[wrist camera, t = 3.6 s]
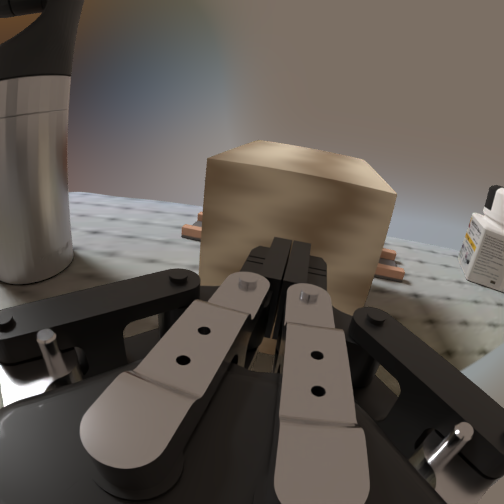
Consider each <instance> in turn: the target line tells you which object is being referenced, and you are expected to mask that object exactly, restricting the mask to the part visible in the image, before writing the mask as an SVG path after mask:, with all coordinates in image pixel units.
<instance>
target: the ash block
mask: <svg viewBox="0 0 504 504" xmlns="http://www.w3.org/2000/svg"><path fill="white" fill-rule="evenodd" d="M396 197H397V193H396V192H395V191H394V190H393V189H392V188H391V187H390V186H389V185H388V184H387V183H386V182H385V181H384V180H383V179H382V177H381V176H380V175H379V174H378V173H377V172H376V171H375V170H374V169H373V168H372V167H371V166H370V165H369V164H368V163H367V162H366V161H365V160H363V159H358V158H354V157H349V156H345V155H340V154H335V153H330V152H325V151H320V150H315V149H310V148H305V147H298V146H293V145H287V144H282V143H275V142H268V141H262V140H257V141H254V142H251V143H248V144H245V145H242V146H239V147H237V148H234V149H231V150H228V151H225V152H223V153H220V154H218V155H215V156H212V157H210V158H207V168H206V178H205V190H204V204H203V216H202V230H201V245H200V262H199V277H200V280H201V281H200V286H220V285H221V284H222V283H223V282H224V280H225V279H226V278H227V277H228V276H229V275H230V274H233V273H236V272H240V270H241V268H242V266H243V264H244V263H245V261H246V259H247V257H248V256H249V254H250V252H251V250H252V249H254V248H256V247H258V246H264V247H269V248H270V246H271V244H272V241H273V239H274V237H279V238H284V239H289V240H292V245H293V241H294V240H295V241H300V242H305V243H311V250H310V255H311V256H316V257H321V258H323V260H324V261H325V262H326V264H327V292H328V293H329V295H330V297H331V303H332V306H333V307H335V308H336V309H338V310H339V311H341V312H344V313H346V314H349V315H351V316H353V313H354V311H355V310H357V309H358V308H361V307H364V304H365V302H366V299H367V296H368V293H369V290H370V287H371V284H372V281H373V278H374V275H375V272H376V269H377V265H378V262H379V259H380V256H381V252H382V249H383V246H384V242H385V239H386V235H387V231H388V228H389V224H390V221H391V217H392V213H393V209H394V205H395V201H396ZM292 245H291V249H292ZM290 253H291V250H290ZM289 257H290V256H289ZM276 316H277V314H276ZM275 321H276V318H275ZM274 326H275V322H274ZM274 326H273V329H272V333H271V337H270V338H266V337H263V341H262V343H261V344H260V346H259V352H262V353H266V354H271V355H274V352H275V347H276V343H277V340H275V339H272V336H273V331H274Z"/></svg>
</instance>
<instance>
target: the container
mask: <svg viewBox="0 0 504 504" xmlns="http://www.w3.org/2000/svg"><path fill="white" fill-rule="evenodd" d="M483 212H484V213H485V215H484V216H483V215H481V214H477V213H473V214H472V217H471V220H470V223H469V226H468V230H467V233H466V236H465V239H464V242H463V245H462V248H461V250H460V253H459V256H458V260H459V263H460V265H461V267H462V270H463V272H464V275H465V277H466V279H467V280H469V281H472V282H475V283H478V284H481V285H483V286H486V287H489V288H492V289H495V290H498V291H501V292H504V187H501V186H498V185H494V186H491V187H490V188H489V192H488V196H487V200H486V203H485V207H484V210H483Z"/></svg>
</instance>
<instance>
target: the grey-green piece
mask: <svg viewBox="0 0 504 504" xmlns="http://www.w3.org/2000/svg"><path fill="white" fill-rule="evenodd" d="M202 216H203V212H200V213H198V220H197V222H195V223H194V224H193V225H187V224H185V225H184V226H183V227H182V237H184V238H189V239H194V240H199V241H201V230H202ZM395 257H396V252H395V251H394V250H389V249H385V248H383V249H382V252H381V256H380V259H379V262H378V265H377V269H376V272H375V275H374V277H379V278H384V279H389V280H393V281H398V282H402V280H403V277H404V274H405V272H404V269H403V268H398V267H397V266H396V263H395V261H394V260H395Z"/></svg>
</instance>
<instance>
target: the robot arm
mask: <svg viewBox="0 0 504 504" xmlns="http://www.w3.org/2000/svg"><path fill="white" fill-rule="evenodd" d="M83 3H84V0H0V18H8V17H14V16H20V15H26V14H33V13H40V12H42V14H41V15H40V16H39V17H38V18H37V19H36V20H35V21H34V22H33V23H32V24H31V25H29V26H28V27H27V28H25V29H24V30H23V31H21V32H20V33H19V34H17V35H16V36H14V37H13V38H11V39H9V40H8V41H6V42H4V43H2V44H1V45H0V280H1V281H3V282H6V283H10V284H28V283H33V282H38V281H41V280H44V279H47V278H49V277H52V276H54V275H56V274H58V273H59V272H61V271H63V270H64V269H65V268H66V267H67V266H68V265H69V264H70V263H71V261H72V259H73V245H72V236H71V225H70V211H69V195H68V168H67V137H68V133H67V132H68V108H69V94H70V82H71V77H70V76H71V72H72V62H73V54H74V46H75V40H76V34H77V28H78V23H79V19H80V14H81V10H82V6H83ZM291 245H292V240H289V239H284V238H279V237H274V239H273V241H272V244H271V246H270V248H269V247H264V246H258V247H256V248H254V249H252V250H251V252H250V254H249V256H248V257H247V259H246V261H245V263H244V264H243V266H242V268H241V270H240V272H236V273H233V274H230V275H229V276H228V277H227V278H226V279H225V280H224V282H223V283H222V284H221V285H220V286H200V281H201V280H200V277H199V276H198V275H197V274H196V273H195V272H193V271H190V270H186V269H169V270H165V271H160V272H156V273H152V274H148V275H144V276H139V277H135V278H131V279H127V280H123V281H118V282H114V283H110V284H106V285H102V286H97V287H93V288H89V289H85V290H81V291H77V292H72V293H68V294H64V295H60V296H56V297H52V298H47V299H43V300H39V301H35V302H31V303H27V304H23V305H18V306H14V307H10V308H6V309H2V310H0V378H1V386H2V393H3V399H4V405H5V406H4V407H2V408H1V409H0V504H477V502H478V501H479V500H480V499H481V497H482V496H483V495H484V494H485V492H486V491H487V490H488V489H489V488H490V487H491V486H492V485H493V484H495V483H496V482H497V481H498V480H499V479H500V478H501V477H503V476H504V408H502V407H501V406H500V405H499V404H498V403H497V402H495V401H494V400H493V399H492V398H491V397H490V396H488V395H487V394H486V393H485V392H484V391H483V390H481V389H480V388H479V387H478V386H477V385H475V384H474V383H473V382H472V381H471V380H469V379H468V378H467V377H466V376H465V375H463V374H462V373H461V372H460V371H459V370H457V369H456V368H455V367H454V366H453V365H451V364H450V363H449V362H448V361H447V360H445V359H444V358H443V357H442V356H440V355H439V354H438V353H437V352H436V351H434V350H433V349H432V348H431V347H429V346H428V345H427V344H426V343H424V342H423V341H422V340H421V339H419V338H418V337H417V336H416V335H414V334H413V333H412V332H411V331H409V330H408V329H407V328H406V327H404V326H403V325H402V324H401V323H399V322H398V321H397V320H396V319H394V318H393V317H392V316H390V315H389V314H388V313H386V312H384V311H382V310H380V309H377V308H373V307H361V308H358V309H357V310H355V311H354V313H353V316H351V315H349V314H346V313H344V312H341V311H339V310H338V309H336V308H335V307H333V306H332V303H331V297H330V295H329V293H328V292H327V264H326V262H325V261H324V260H323V258H321V257H316V256H311V255H310V250H311V243H305V242H300V241H295V240H294V241H293V245H292V249H291ZM290 250H291V253H290ZM289 256H290V257H289ZM156 314H158V321H159V328H157V329H154V330H151V331H148V332H145V333H141V334H138V335H135V336H132V337H128V338H125V339H124V338H123V330H124V328H125V327H126V325H127V324H129V323H130V322H133V321H136V320H139V319H143V318H146V317H149V316H153V315H156ZM276 314H277V316H276ZM275 318H276V321H275ZM274 322H275V326H274ZM273 326H274V331H273V336H272V339H275V340H277V343H276V347H275V352H274V357H273V364H272V372H271V373H261V372H253V371H251V368H252V366H253V364H254V362H255V359H256V357H257V355H258V352H259V346H260V344H261V343H262V341H263V337H266V338H270V337H271V333H272V329H273ZM380 364H381V365H382V366H383V367H384V368H385V369H386V370H387V371H388V372H389V373H390V374H391V375H392V376H393V377H395V378H396V379H397V381H398V382H399V384H400V388H401V393H400V396H399V397H397V396H396V395H395V394H394V393H393V392H392V391H391V390H390V389H389V388H388V387H387V386H386V385H385V384H384V383H383V382H382V381H381V380H380V379H379V378H378V377H377V376H376V375H375V373H376V371H377V369H378V367H379V365H380Z"/></svg>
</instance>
